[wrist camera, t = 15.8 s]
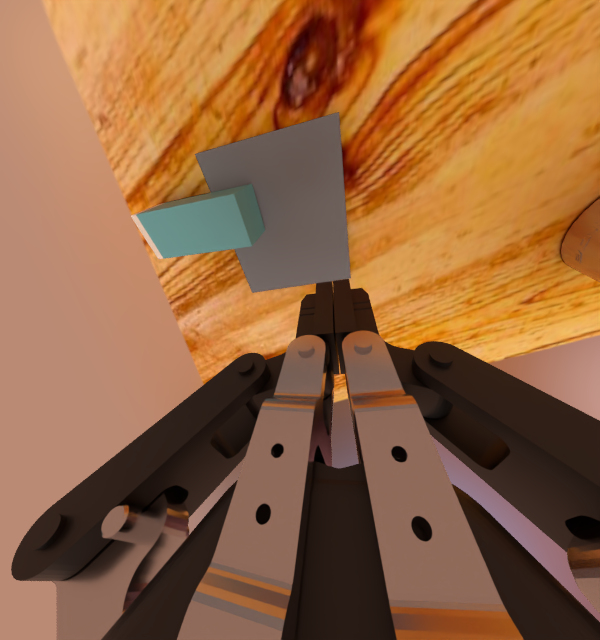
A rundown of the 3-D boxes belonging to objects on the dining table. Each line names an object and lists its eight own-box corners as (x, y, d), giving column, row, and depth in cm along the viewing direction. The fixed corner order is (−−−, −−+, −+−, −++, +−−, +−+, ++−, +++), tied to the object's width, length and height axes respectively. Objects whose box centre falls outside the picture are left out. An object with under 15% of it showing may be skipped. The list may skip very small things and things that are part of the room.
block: (233, 193, 16) (130, 215, 19) (251, 246, 18) (158, 259, 21) (251, 183, 19) (160, 203, 21) (265, 230, 21) (182, 243, 24)
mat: (338, 112, 16) (338, 111, 16) (350, 275, 25) (350, 278, 25) (197, 153, 19) (194, 154, 18) (253, 290, 27) (252, 292, 27)
